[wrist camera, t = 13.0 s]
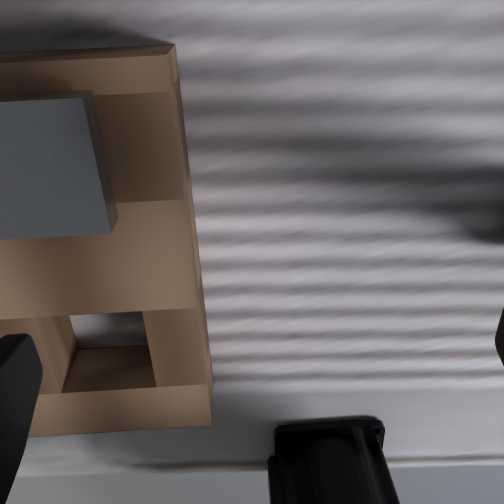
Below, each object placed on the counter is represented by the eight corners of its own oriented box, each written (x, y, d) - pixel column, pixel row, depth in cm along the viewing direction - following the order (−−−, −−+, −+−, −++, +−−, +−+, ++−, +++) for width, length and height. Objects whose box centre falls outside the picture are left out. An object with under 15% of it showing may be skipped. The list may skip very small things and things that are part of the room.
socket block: (174, 44, 17) (166, 55, 15) (213, 380, 26) (211, 425, 23) (-72, 56, 17) (-125, 69, 15) (47, 391, 26) (27, 437, 23)
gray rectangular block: (115, 71, 18) (82, 98, 14) (134, 182, 20) (111, 233, 16) (-5, 77, 17) (-73, 105, 13) (28, 188, 20) (-22, 241, 16)
